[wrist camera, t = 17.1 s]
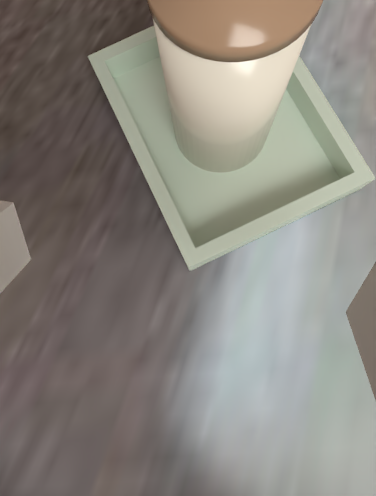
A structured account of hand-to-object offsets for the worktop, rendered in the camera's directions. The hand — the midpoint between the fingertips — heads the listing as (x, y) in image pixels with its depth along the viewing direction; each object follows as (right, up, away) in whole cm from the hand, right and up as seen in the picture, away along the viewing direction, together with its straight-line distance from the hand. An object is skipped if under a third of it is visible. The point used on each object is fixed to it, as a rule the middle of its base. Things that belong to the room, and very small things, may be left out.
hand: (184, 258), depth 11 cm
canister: (+3, +10, +12) cm, 16 cm away
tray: (+3, +10, +13) cm, 16 cm away
